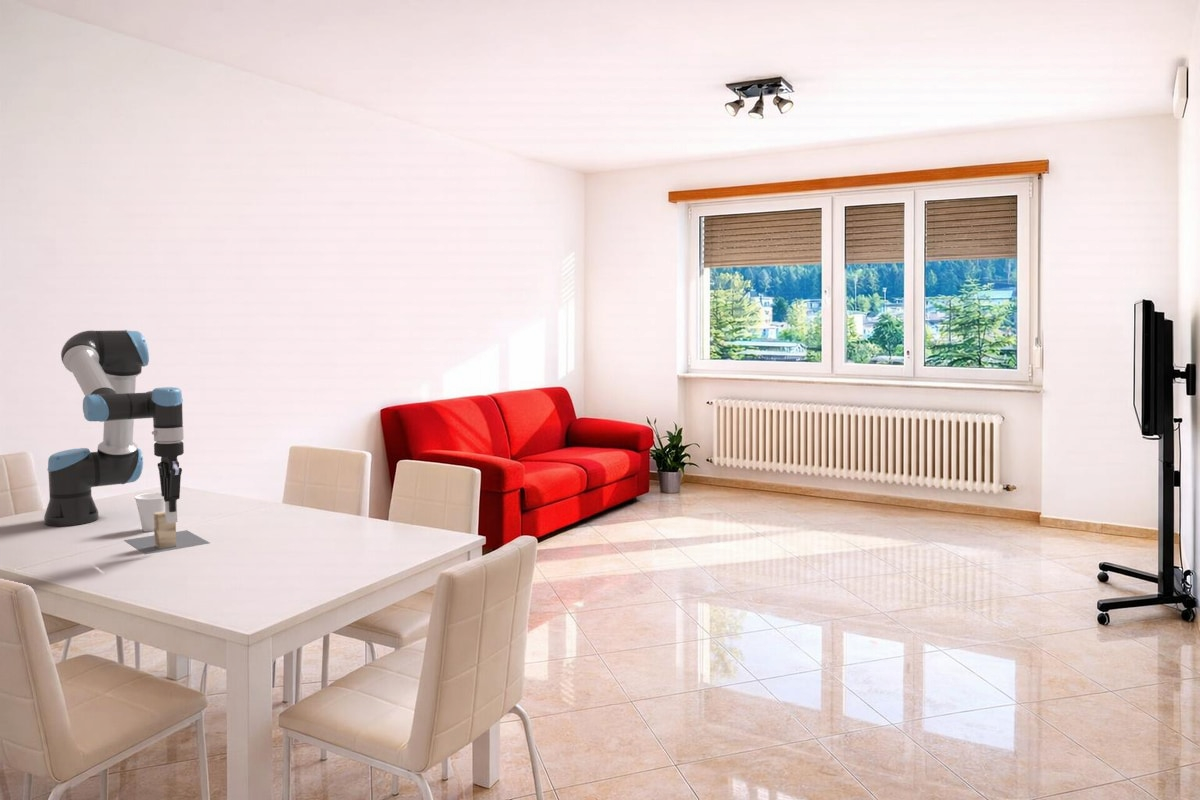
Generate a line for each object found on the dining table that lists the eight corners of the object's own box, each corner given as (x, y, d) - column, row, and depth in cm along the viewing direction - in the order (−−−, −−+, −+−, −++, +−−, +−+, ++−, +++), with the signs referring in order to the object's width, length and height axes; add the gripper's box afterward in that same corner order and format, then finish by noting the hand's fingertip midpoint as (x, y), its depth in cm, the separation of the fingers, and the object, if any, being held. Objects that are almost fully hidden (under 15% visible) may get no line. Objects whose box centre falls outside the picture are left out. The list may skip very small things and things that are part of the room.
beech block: (154, 546, 245) (153, 512, 244) (171, 543, 249) (170, 510, 248) (159, 549, 242) (158, 515, 241) (176, 546, 245) (175, 513, 244)
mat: (123, 541, 251) (123, 540, 251) (186, 531, 264) (186, 530, 264) (145, 555, 237) (145, 554, 237) (210, 544, 250) (210, 543, 250)
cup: (155, 534, 259) (154, 500, 258) (128, 532, 261) (126, 498, 260) (178, 526, 269) (176, 493, 268) (151, 524, 271) (150, 491, 270)
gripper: (147, 440, 240) (149, 520, 242) (162, 445, 231) (165, 528, 233) (174, 437, 245) (177, 516, 248) (190, 443, 236) (193, 524, 239)
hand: (171, 522), depth 241 cm, fingers closed
